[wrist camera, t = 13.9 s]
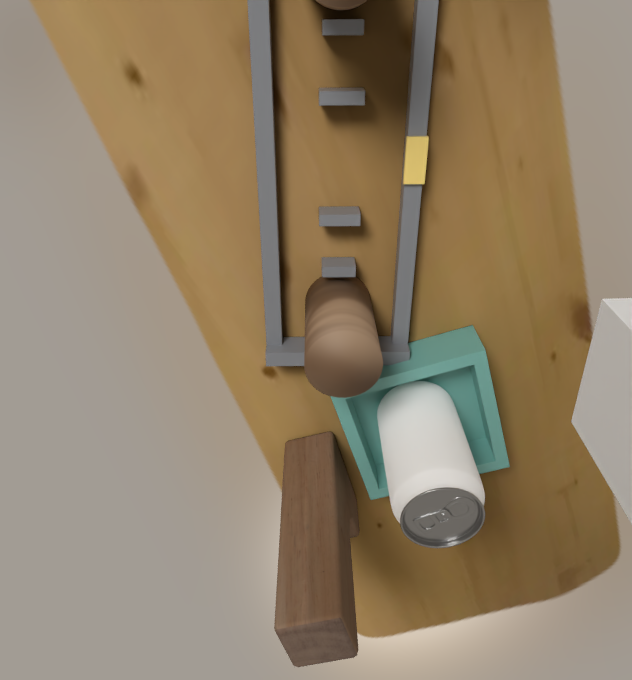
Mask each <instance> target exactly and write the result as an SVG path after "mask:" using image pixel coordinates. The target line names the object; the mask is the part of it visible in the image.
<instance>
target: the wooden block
mask: <svg viewBox="0 0 632 680" xmlns="http://www.w3.org/2000/svg"><path fill="white" fill-rule="evenodd" d="M358 535H359V521H358V510H357V500H356V497H355V494H354V491H353V488H352V485H351V482H350V480H349V477H348V474H347V471H346V468H345V465H344V462H343V460H342V457H341V454H340V451H339V448H338V445H337V442H336V440H335V437H334V435H333V433H332V432H325V433H320V434H316V435H312V436H307V437H303V438H299V439H294V440H290V441H287V442H286V443H285V455H284V470H283V487H282V507H281V524H280V541H279V542H280V543H279V559H278V575H277V576H278V577H277V592H276V610H275V627H274V628H275V631H276V634H277V635H278V637H279V639H280V641H281V643H282V645H283V647H284V648H285V650H286V652H287V654H288V656H289V658H290V660H291V662H292V663H293V665H294V666H297V667H301V666H307V665H313V664H319V663H324V662H330V661H336V660H341V659H347V658H353V657H355V656H356V655H357V652H358V640H357V626H356V613H355V599H354V586H353V572H352V559H351V545H350V538H352V537H356V536H358Z"/></svg>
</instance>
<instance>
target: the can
mask: <svg viewBox="0 0 632 680" xmlns="http://www.w3.org/2000/svg"><path fill="white" fill-rule="evenodd" d="M377 419H378V427H379V433H380V440H381V447H382V453H383V459H384V466H385V472H386V478H387V484H388V491H389V497H390V502H391V507H392V511H393V514H394V516H395V517H396V519H397V520H398V522H399V523H400V525H401V529H402V531H403V533H404V534H405V535H406V537H407V538H408V539H410V540H411V541H413V542H414V543H416V544H418V545H421V546H425V547H430V548H446V547H452V546H455V545H458V544H461V543H463V542H465V541H467V540H469V539H470V538H472V537H473V536H474V535H475V534H476V533H477V532H478V531H479V530H480V528H481V527H482V525H483V523H484V520H485V510H484V503H485V493H484V488H483V485H482V481H481V478H480V476H479V473H478V470H477V467H476V464H475V461H474V458H473V455H472V453H471V450H470V447H469V444H468V441H467V438H466V436H465V433H464V430H463V427H462V424H461V422H460V419H459V416H458V413H457V411H456V408H455V405H454V403H453V400H452V398H451V397H450V395H449V394H448V393H447V392H446V391H445V390H444V389H443V388H442V387H440V386H438V385H436V384H434V383H431V382H426V381H411V382H408V383H404V384H401V385H398V386H396V387H395V388H393V389H391V390H390V391H389V392H388V393H387V394H386V395H385V396H384V397H383V398H382V400H381V402H380V404H379V406H378V410H377Z"/></svg>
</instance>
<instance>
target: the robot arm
mask: <svg viewBox="0 0 632 680" xmlns="http://www.w3.org/2000/svg"><path fill="white" fill-rule="evenodd" d="M571 422H572V424H573V426H574V427H575V429H576V431H577V432H578V434H579V436H580V437H581V439H582V441H583V443H584V444H585V446H586V448H587V449H588V451H589V453H590V454H591V456H592V458H593V459H594V461H595V463H596V465H597V466H598V468H599V470H600V471H601V473H602V475H603V476H604V478H605V480H606V482H607V483H608V485H609V487H610V488H611V490H612V492H613V493H614V495H615V497H616V499H617V500H618V502H619V504H620V505H621V507H622V509H623V510H624V512H625V514H626V516H627V517H628V519H629V521H630V522H631V524H632V298H616V299H602V302H601V305H600V309H599V313H598V317H597V322H596V325H595V329H594V333H593V337H592V341H591V345H590V349H589V353H588V357H587V361H586V365H585V369H584V373H583V377H582V381H581V385H580V389H579V393H578V397H577V401H576V405H575V409H574V413H573V417H572V421H571Z"/></svg>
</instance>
